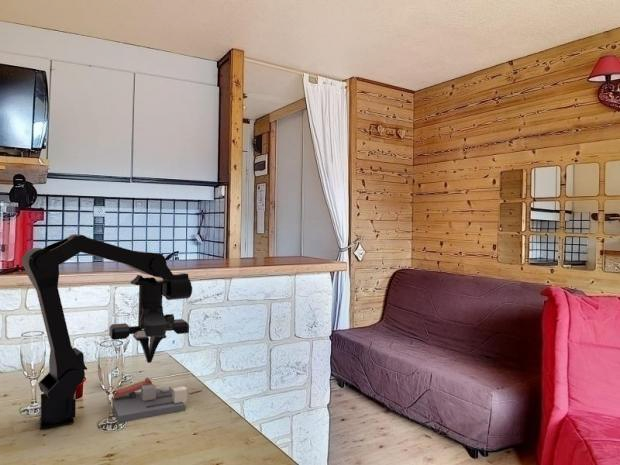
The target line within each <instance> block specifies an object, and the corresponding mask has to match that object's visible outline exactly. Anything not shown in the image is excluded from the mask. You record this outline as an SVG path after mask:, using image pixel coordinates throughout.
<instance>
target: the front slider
mask: <svg viewBox="0 0 620 465" xmlns="http://www.w3.org/2000/svg"><path fill="white" fill-rule="evenodd" d="M171 389H172V401H173V402H174V403H180V402H183V403H185V402H187V401H188V388H187V387H186V386H184V385H183V386H177V387H171Z"/></svg>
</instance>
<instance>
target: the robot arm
mask: <svg viewBox="0 0 620 465" xmlns="http://www.w3.org/2000/svg"><path fill="white" fill-rule="evenodd" d="M80 253H83V254H86V255H91V256H94V257H96V258H97V257H98V258H101V259H105V260H109V261H112V262H115V263H118V264H123V265H125V266H127V267H129V268H131V269H133V270H134V271H135V272H139V273H140V274H144V275H147V276H150V277H143V275H139V274H137V275H136V277H135V278H134V279H132V280H131V281H130V284H131V285H134V286H138V319H137V320H138V321H137V322H138V323H137V324H138V325H134V326H129V325H128V323H127V322H126V323H123V322H122V323H112V324H111V325H110V326H109V330H108V336H109V337H110V339H111V340H114V341H117V340H124V339H125V340H127V338H128V337H130V335H132V336H133V338H134V339H135V341H138V342H139V344H140V345H141V347H142V350H143V354H144V357H145V359H146V362H147V364H150V363H152V361H153V359H154V356H155V353H156V351H157V348H158V347H159V345H160V343H161V341H162V340H163V339H166V338H167V335H166V332H171V331H173V332H174V333H175V334H177V335H182V334H183V335H184V334H189V333H190V331H189V330H190V324H189V323H188V321H186V320H184V319H182V318H177V319H175V316H174V315H175V314H174V313H169V314H167V313H166V314H165V315H164V307H163V297H164V298H165V299H166V300H167V301H173V300H185V299H190V298H191V297H192V294H193V286H192V282H191V280H190V278H189V273H185V272H182V273H178V274H177V273H176V274H174V273H173V272H172V271H171V269H170V268H169V267H168V265H167V259H166V258H165V256H164V254H161V253H158V252H150V251H149V252H148V251H139V250H131V249H129V248H125V247H124V248H123V247H121V246H117V245H114V244H112V243H108V242H104V241H100V240H97V239H93V238H91V237H87V236H85V235H84V234H78V233H77V234H76V233H75V234H70V235H69V236H68V237H65V238H64V239H61V240H59V241H57V242H53V243H51V244H48V245H46V246H45V247H42V248H41V247H34V248H30V249H29V250H27V251H26V252H24V255H23V256H22V259H21V260H22V263H21V264H22V266H23V269H24V270H25V273H26V274H27V276H28V278H29V280H30V282H31V284H32V285H33V288H34V289H35V291H36V295H37V299H38V303H39V307H40V311H41V316H42V319H43V325H44V327H45V332H46V336H47V339H48V344H49V347H50V348H49V349H50V351H49V358H48V366H49V367H48V368H49V371H48V373H47V374H46V375H45V376H44V377H42V379H41V380H40V381H38V383H37V384H38V387H39V389H40V391H41V392H42V393H41V394H40V416H39V429H41V430H44V429H50V428H55V427H62V426H67V425H71V424H72V425H73V424H74V419H75V418H76V414H77V412H76V410H77V408H76V405H77V400H76V396H75V395H76V392H77V389H78V387H79V385H81V384H82V383H83V381H84V379H85V376H86V371H87V370H88V367H87V366H86V364H85V357H84V356H85V355H84V352H82V351H81V350H80V349H78V348H77V347H74V348H73V346H72V342H71V338H70V334H69V330H68V326H67V322H66V318H65V313H64V308H63V305H62V300H61V296H60V295H61V294H60V292H59V286H58V285H59V278H60V265H61V264H64V263H65V262H67V261H69V260H70V259H72V258H73V257H75V256H76V255H78V254H80ZM151 276H152V277H151ZM156 278H159V279H160V280H157V279H156Z"/></svg>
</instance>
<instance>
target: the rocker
mask: <svg viewBox="0 0 620 465" xmlns="http://www.w3.org/2000/svg"><path fill="white" fill-rule="evenodd" d="M151 384H153V382H152V381H151V379H150V378H149V377H145V378H144V380H142V381H141V380H140V381H139V382H135V383H133V384H130V385H127V386H124V387H122V388H117V391H116V393H115V394H114V395H113V396H114V397H115V398H117V397H120V396H123V395H126V394H129V393H132V392H134V391H135V392H138V391H139V390H140V391H141V386H144V385H151Z"/></svg>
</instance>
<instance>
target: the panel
mask: <svg viewBox="0 0 620 465" xmlns="http://www.w3.org/2000/svg"><path fill="white" fill-rule="evenodd" d="M113 410H114V411H113ZM185 410H186V405H185V402H180V403H174V402H173V401H172V387H171V386H164V387H160V388H156V399H153V400H147V401H143V400H142V399H141V391H134V392H132V393H129V394H126V395H123V396H120V397H117V398H115V397H114V398H113V409H112V411H113V413H114V415H115V416H114V417H115V418H116V420H117V423H125V422H130V421H134V420H141V419H147V418H153V417H157V416H164V415H167V414H168V415H169V414H172V413H173V414H174V413H179V412H185Z"/></svg>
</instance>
